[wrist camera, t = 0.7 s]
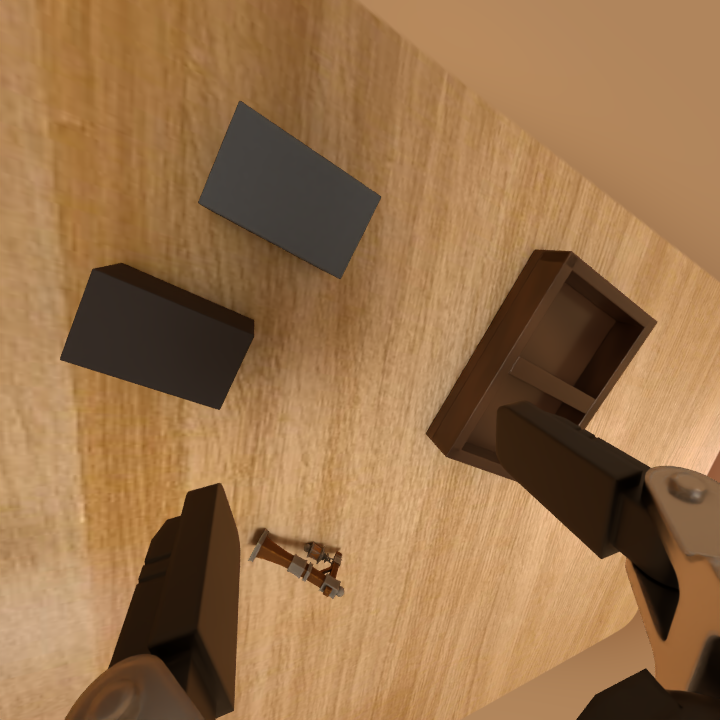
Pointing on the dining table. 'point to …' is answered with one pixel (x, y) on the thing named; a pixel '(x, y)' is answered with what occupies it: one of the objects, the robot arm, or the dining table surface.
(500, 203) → the dining table surface
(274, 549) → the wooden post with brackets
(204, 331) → the dark brown rectangular block
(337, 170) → the pad
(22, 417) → the dining table surface
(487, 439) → the divided wooden tray
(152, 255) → the dining table surface
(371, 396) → the dining table surface
